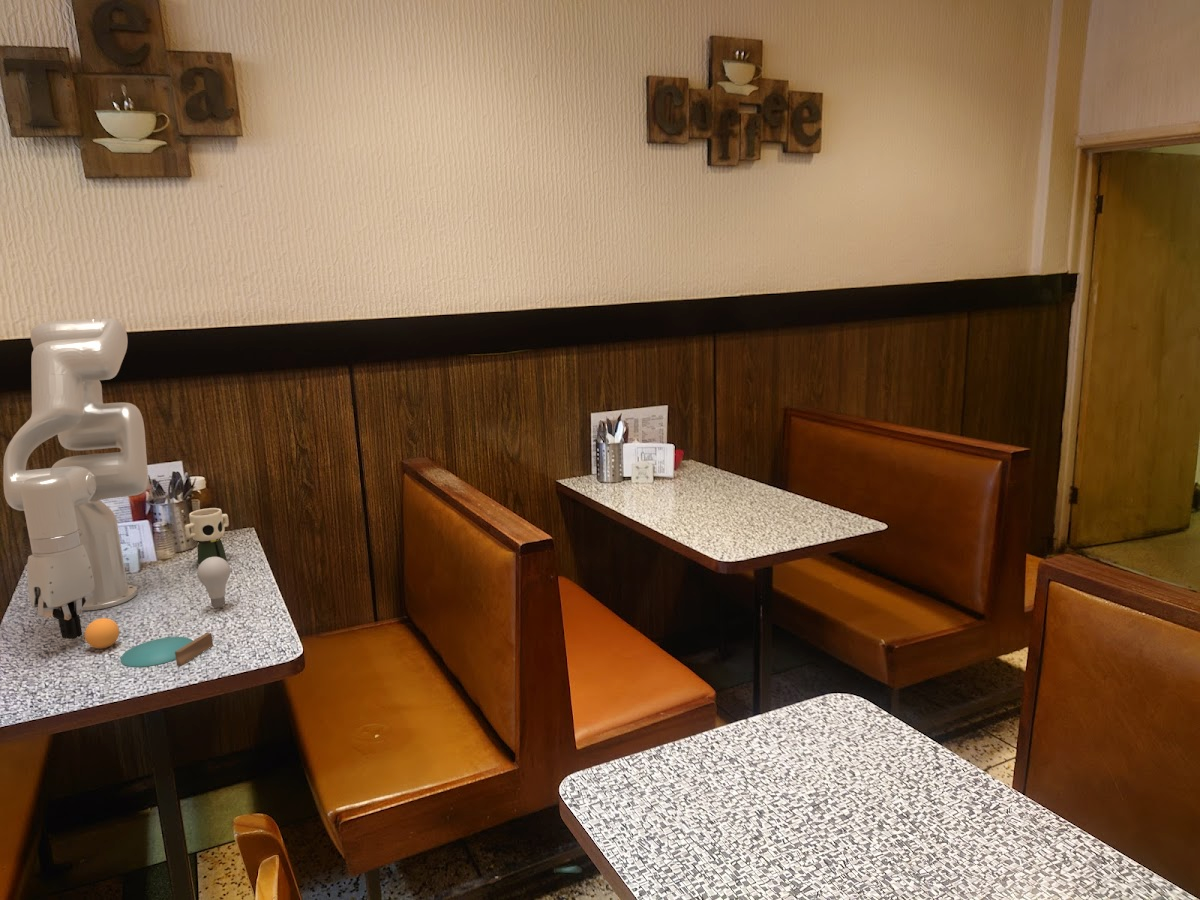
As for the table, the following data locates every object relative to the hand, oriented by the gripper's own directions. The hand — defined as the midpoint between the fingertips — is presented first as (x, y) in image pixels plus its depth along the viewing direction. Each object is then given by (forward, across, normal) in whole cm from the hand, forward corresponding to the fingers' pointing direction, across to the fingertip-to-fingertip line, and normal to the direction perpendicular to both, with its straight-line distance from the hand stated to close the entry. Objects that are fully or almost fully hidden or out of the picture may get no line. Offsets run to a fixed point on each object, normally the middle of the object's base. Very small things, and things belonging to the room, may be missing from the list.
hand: (72, 636), depth 155 cm
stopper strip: (+2, -1, +27) cm, 27 cm away
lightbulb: (+2, -21, +15) cm, 26 cm away
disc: (+2, -1, +19) cm, 19 cm away
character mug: (+2, -44, -7) cm, 45 cm away
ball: (-1, 0, +7) cm, 7 cm away
